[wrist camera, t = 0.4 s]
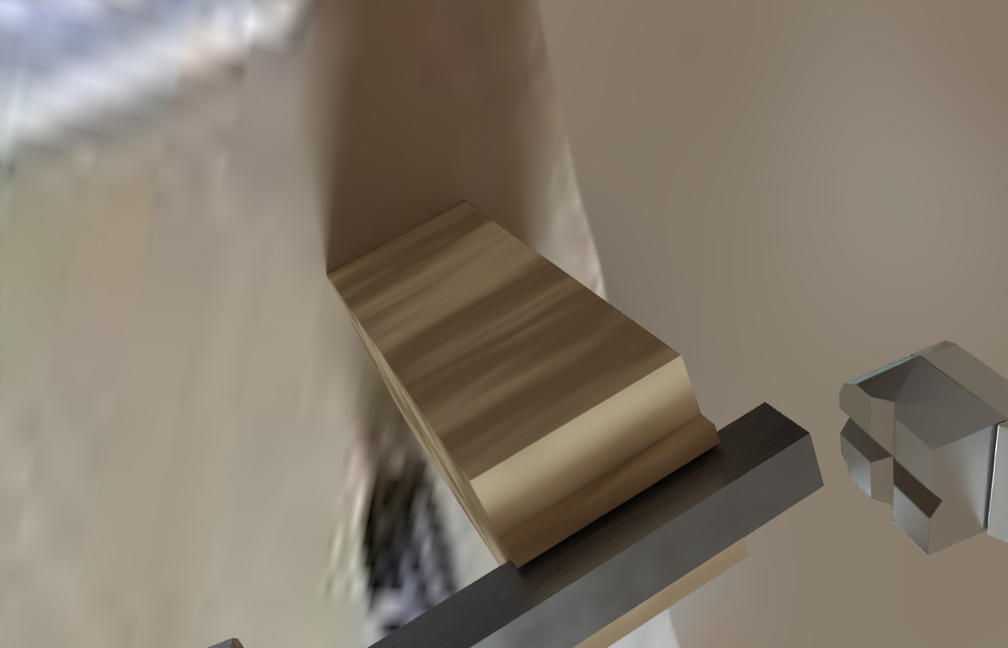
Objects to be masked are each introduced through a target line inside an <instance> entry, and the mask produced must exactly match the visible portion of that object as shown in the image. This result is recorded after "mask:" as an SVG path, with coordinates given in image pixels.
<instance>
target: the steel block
mask: <svg viewBox="0 0 1008 648" xmlns="http://www.w3.org/2000/svg"><path fill="white" fill-rule="evenodd" d="M717 434H718V437H719V440H720V443H719V444H717V445H715V446H714V447H712V448H711V449H709V450H707V451H706V452H704V453H702V454H701V455H699V456H698V457H696V458H694V459H693V460H691V461H690V462H688V463H686V464H685V465H683V466H682V467H680V468H678V469H677V470H675V471H673V472H672V473H670V474H669V475H667V476H665V477H664V478H662V479H661V480H659V481H657V482H656V483H654V484H653V485H651V486H649V487H648V488H646V489H645V490H643V491H641V492H640V493H638V494H636V495H635V496H633V497H632V498H630V499H628V500H627V501H625V502H624V503H622V504H620V505H619V506H617V507H616V508H614V509H612V510H611V511H609V512H607V513H606V514H604V515H603V516H601V517H599V518H598V519H596V520H595V521H593V522H591V523H590V524H588V525H587V526H585V527H583V528H582V529H580V530H579V531H577V532H575V533H574V534H572V535H570V536H569V537H567V538H566V539H564V540H562V541H561V542H559V543H558V544H556V545H554V546H553V547H551V548H550V549H548V550H546V551H545V552H543V553H541V554H540V555H538V556H537V557H535V558H533V559H532V560H530V561H529V562H527V563H525V564H524V565H522V566H521V567H519V568H517V567H516V566H515V564H514V563H513V561H512V560H509V561H507V562H506V563H504V564H502V565H501V566H499V567H498V568H496V569H494V570H493V571H491V572H489V573H488V574H486V575H485V576H483V577H481V578H480V579H478V580H477V581H475V582H473V583H472V584H470V585H468V586H467V587H465V588H464V589H462V590H460V591H459V592H457V593H456V594H454V595H452V596H451V597H449V598H447V599H446V600H444V601H443V602H441V603H439V604H438V605H436V606H434V607H433V608H431V609H430V610H428V611H426V612H425V613H423V614H422V615H420V616H418V617H417V618H415V619H413V620H412V621H410V622H409V623H407V624H405V625H404V626H402V627H401V628H399V629H397V630H396V631H394V632H392V633H391V634H389V635H388V636H386V637H384V638H383V639H381V640H380V641H378V642H376V643H375V644H373V645H371V646H370V647H368V648H573V647H575V646H576V645H578V644H579V643H581V642H582V641H584V640H586V639H587V638H589V637H590V636H592V635H593V634H595V633H596V632H598V631H599V630H601V629H603V628H604V627H606V626H607V625H609V624H610V623H612V622H613V621H615V620H617V619H618V618H620V617H621V616H623V615H624V614H626V613H627V612H629V611H630V610H632V609H634V608H635V607H637V606H638V605H640V604H641V603H643V602H644V601H646V600H647V599H649V598H651V597H652V596H654V595H655V594H657V593H658V592H660V591H661V590H663V589H665V588H666V587H668V586H669V585H671V584H672V583H674V582H675V581H677V580H678V579H680V578H682V577H683V576H685V575H686V574H688V573H689V572H691V571H692V570H694V569H695V568H697V567H699V566H700V565H702V564H703V563H705V562H706V561H708V560H709V559H711V558H713V557H714V556H716V555H717V554H719V553H720V552H722V551H723V550H725V549H726V548H728V547H730V546H731V545H733V544H734V543H736V542H737V541H739V540H740V539H742V538H743V537H745V536H747V535H748V534H750V533H751V532H753V531H754V530H756V529H757V528H759V527H761V526H762V525H764V524H765V523H766V522H768V521H770V520H771V519H773V518H774V517H776V516H777V515H779V514H781V513H782V512H784V511H785V510H787V509H788V508H790V507H791V506H793V505H794V504H796V503H798V502H799V501H801V500H802V499H804V498H805V497H807V496H808V495H810V494H812V493H813V492H815V491H816V490H818V489H819V488H821V487H822V486H824V485H823V481H822V477H821V473H820V469H819V466H818V462H817V458H816V455H815V451H814V448H813V443H812V440H811V436H810V433H809V432H807V431H806V430H804V429H803V428H802V427H800V426H799V425H797V424H796V423H795V422H793V421H792V420H790V419H789V418H787V417H786V416H784V415H783V414H782V413H780V412H779V411H777V410H776V409H774V408H773V407H772V406H770V405H769V404H767V403H766V402H764V403H763V404H761V405H760V406H758V407H756V408H755V409H753V410H752V411H750V412H748V413H747V414H745V415H743V416H742V417H740V418H739V419H737V420H735V421H734V422H732V423H730V424H729V425H727V426H726V427H724V428H722V429H721V430H719V431H718V432H717Z"/></svg>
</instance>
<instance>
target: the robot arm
mask: <svg viewBox="0 0 1008 648" xmlns="http://www.w3.org/2000/svg"><path fill="white" fill-rule="evenodd" d="M839 398H840V409H841V410H843V411H844V412H845V413H846V414H847V415H848V416H849V419H848V421H847V422H846V424H845V426H844V428H843V429H842V431H841V433H840V437H841V451H842V455H843V457H844V460H845V463H846V465H847V468H848V470H849V472H850V474H851V475H852V477H853V478H854V480H855V481H856V483H857V484H858V485H859V486H860V487H861V489H862V490H863V491H864V492H865V493H866V494H867V495H868V496H869V497H870V498H872V499H875V500H878V501H882V502H885V503H888V504H891V505H893V521H894V522H895V523H896V524H897V525H898V526H899V527H900V528H901V529H902V530H903V531H904V532H905V533H906V534H907V535H908V536H909V537H910V538H911V539H912V540H913V541H915V543H916V544H918V546H920V547H921V548H922V549H923V550H924V551H925V552H926V553H927V554H928V555H930V554H932V553H935V552H937V551H940V550H942V549H944V548H947V547H949V546H951V545H954V544H956V543H958V542H961V541H963V540H966V539H968V538H970V537H973V536H975V535H978V534H980V533H983V532H985V531H987V534H988V535H990V536H993V537H995V538H998V539H1000V540H1003V541H1005V542H1008V380H1007V379H1005V378H1004V377H1003V376H1001V375H1000V374H998V373H997V372H996V371H994V370H993V369H991V368H990V367H988V366H987V365H986V364H984V363H983V362H981V361H980V360H978V359H977V358H976V357H974V356H972V355H971V354H970V353H968V352H967V351H965V350H964V349H962V348H961V347H960V346H958V345H957V344H955V343H953V342H948V341H942V342H940V343H937V344H935V345H933V346H930V347H928V348H926V349H924V350H921V351H919V352H916V353H914V354H911V355H910V356H909V357H904V358H902V359H900V360H897V361H895V362H893V363H890V364H888V365H886V366H883V367H881V368H879V369H877V370H874V371H872V372H869V373H867V374H865V375H862V376H860V377H858V378H855V379H853V380H851V381H848V382H846V383H844V384H843V386H842V388H841V391H840V395H839ZM208 648H244V647H243V646H242V644H241V643H240V641H239V640H238V639H236V638H231V639H229V640H226V641H224V642H221V643H219V644H216V645H213V646H211V647H208Z"/></svg>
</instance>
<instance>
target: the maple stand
mask: <svg viewBox="0 0 1008 648" xmlns="http://www.w3.org/2000/svg"><path fill="white" fill-rule="evenodd" d="M327 277H328V278H329V280H330V282H331V284H332V286H333V288H334V290H335V291H336V293H337V295H338V297H339V299H340V301H341V303H342V304H343V306H344V308H345V310H346V312H347V314H348V315H349V317H350V319H351V321H352V323H353V325H354V327H355V328H356V330H357V332H358V334H359V336H360V338H361V340H362V341H363V343H364V345H365V347H366V349H367V351H368V352H369V354H370V356H371V358H372V360H373V362H374V364H375V365H376V367H377V369H378V371H379V373H380V375H381V377H382V378H383V380H384V382H385V384H386V386H387V388H388V390H389V391H390V393H391V395H392V397H393V399H394V401H395V402H396V404H397V406H398V408H399V410H400V412H401V414H402V415H403V417H404V419H405V421H406V422H407V424H408V425H409V427H410V428H411V430H412V431H413V433H414V435H415V436H416V438H417V439H418V441H419V442H420V444H421V445H422V447H423V448H424V450H425V452H426V453H427V455H428V456H429V458H430V459H431V461H432V462H433V464H434V465H435V467H436V468H437V470H438V472H439V473H440V475H441V476H442V478H443V479H444V481H445V482H446V484H447V485H448V487H449V488H450V490H451V492H452V493H453V495H454V496H455V498H456V499H457V501H458V502H459V504H460V505H461V507H462V509H463V510H464V512H465V513H466V515H467V516H468V518H469V519H470V521H471V522H472V524H473V525H474V527H475V529H476V530H477V532H478V533H479V535H480V536H481V538H482V539H483V541H484V542H485V544H486V546H487V547H488V549H489V550H490V552H491V553H492V555H493V556H494V558H495V559H496V561H497V562H498V564H499V566H501V565H502V564H504V563H506V562H507V561H509V560H512V561H513V563H514V564H515V566H516V567H517V568H519V567H521V566H522V565H524V564H525V563H527V562H529V561H530V560H532V559H533V558H535V557H537V556H538V555H540V554H541V553H543V552H545V551H546V550H548V549H550V548H551V547H553V546H554V545H556V544H558V543H559V542H561V541H562V540H564V539H566V538H567V537H569V536H570V535H572V534H574V533H575V532H577V531H579V530H580V529H582V528H583V527H585V526H587V525H588V524H590V523H591V522H593V521H595V520H596V519H598V518H599V517H601V516H603V515H604V514H606V513H607V512H609V511H611V510H612V509H614V508H616V507H617V506H619V505H620V504H622V503H624V502H625V501H627V500H628V499H630V498H632V497H633V496H635V495H636V494H638V493H640V492H641V491H643V490H645V489H646V488H648V487H649V486H651V485H653V484H654V483H656V482H657V481H659V480H661V479H662V478H664V477H665V476H667V475H669V474H670V473H672V472H673V471H675V470H677V469H678V468H680V467H682V466H683V465H685V464H686V463H688V462H690V461H691V460H693V459H694V458H696V457H698V456H699V455H701V454H702V453H704V452H706V451H707V450H709V449H711V448H712V447H714V446H715V445H717V444H719V443H720V440H719V437H718V434H717V431H716V428H715V425H714V424H713V423H712V422H711V421H709V420H708V419H707V418H705V417H704V416H703V415H702V414H701V412H700V409H699V406H698V403H697V400H696V397H695V395H694V392H693V388H692V386H691V383H690V380H689V377H688V374H687V371H686V368H685V365H684V362H683V359H682V356H681V355H680V354H679V353H677V352H676V351H675V350H673V349H672V348H671V347H669V346H668V345H666V344H665V343H664V342H662V341H661V340H659V339H658V338H656V337H655V336H654V335H652V334H651V333H650V332H648V331H647V330H645V329H644V328H643V327H641V326H640V325H638V324H637V323H636V322H634V321H633V320H631V319H630V318H629V317H627V316H626V315H624V314H623V313H622V312H620V311H619V310H617V309H616V308H614V307H613V306H612V305H610V304H609V303H608V302H606V301H605V300H603V299H602V298H601V297H599V296H598V295H596V294H595V293H594V292H592V291H591V290H589V289H588V288H587V287H585V286H584V285H582V284H581V283H580V282H578V281H577V280H575V279H574V278H573V277H571V276H570V275H568V274H567V273H566V272H564V271H563V270H561V269H560V268H559V267H557V266H556V265H554V264H553V263H552V262H550V261H549V260H547V259H546V258H545V257H543V256H542V255H540V254H539V253H538V252H536V251H535V250H533V249H532V248H531V247H529V246H528V245H526V244H525V243H524V242H522V241H521V240H519V239H518V238H517V237H515V236H514V235H512V234H511V233H510V232H508V231H507V230H505V229H504V228H503V227H501V226H500V225H498V224H497V223H496V222H494V221H493V220H491V219H490V218H489V217H487V216H486V215H484V214H483V213H482V212H480V211H479V210H477V209H476V208H475V207H473V206H472V205H470V204H469V203H468V202H466V201H463V202H461V203H460V204H458V205H456V206H454V207H452V208H450V209H448V210H446V211H445V212H443V213H441V214H439V215H437V216H435V217H433V218H432V219H430V220H428V221H426V222H424V223H422V224H420V225H419V226H417V227H415V228H413V229H411V230H409V231H407V232H405V233H404V234H402V235H400V236H398V237H396V238H394V239H392V240H391V241H389V242H387V243H385V244H383V245H381V246H379V247H378V248H376V249H374V250H372V251H370V252H368V253H366V254H364V255H363V256H361V257H359V258H357V259H355V260H353V261H351V262H350V263H348V264H346V265H344V266H342V267H340V268H338V269H337V270H335V271H333V272H331V273H329V274H327ZM748 555H749V554H748V551H747V548H746V546H745V543H744V540H743V538H742V539H740V540H739V541H737V542H736V543H734V544H733V545H731V546H730V547H728V548H726V549H725V550H723V551H722V552H720V553H719V554H717V555H716V556H714V557H713V558H711V559H709V560H708V561H706V562H705V563H703V564H702V565H700V566H699V567H697V568H695V569H694V570H692V571H691V572H689V573H688V574H686V575H685V576H683V577H682V578H680V579H678V580H677V581H675V582H674V583H672V584H671V585H669V586H668V587H666V588H665V589H663V590H661V591H660V592H658V593H657V594H655V595H654V596H652V597H651V598H649V599H647V600H646V601H644V602H643V603H641V604H640V605H638V606H637V607H635V608H634V609H632V610H630V611H629V612H627V613H626V614H624V615H623V616H621V617H620V618H618V619H617V620H615V621H613V622H612V623H610V624H609V625H607V626H606V627H604V628H603V629H601V630H599V631H598V632H596V633H595V634H593V635H592V636H590V637H589V638H587V639H586V640H584V641H582V642H581V643H579V644H578V645H576V646H575V647H573V648H607V647H609V646H610V645H612V644H613V643H615V642H616V641H618V640H620V639H621V638H623V637H624V636H626V635H627V634H629V633H630V632H632V631H633V630H635V629H636V628H638V627H640V626H641V625H643V624H644V623H646V622H647V621H649V620H650V619H652V618H653V617H655V616H656V615H658V614H660V613H661V612H663V611H664V610H666V609H667V608H669V607H670V606H672V605H673V604H675V603H676V602H678V601H679V600H681V599H683V598H684V597H686V596H687V595H689V594H690V593H692V592H693V591H695V590H696V589H698V588H699V587H701V586H702V585H704V584H705V583H707V582H709V581H710V580H712V579H713V578H715V577H716V576H718V575H719V574H721V573H722V572H724V571H726V570H727V569H729V568H730V567H732V566H733V565H735V564H736V563H738V562H739V561H741V560H742V559H744V558H746V557H747V556H748Z"/></svg>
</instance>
